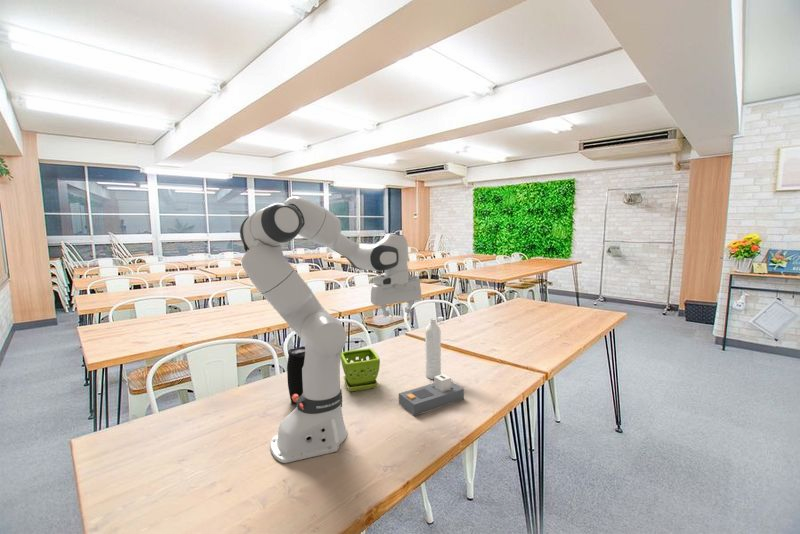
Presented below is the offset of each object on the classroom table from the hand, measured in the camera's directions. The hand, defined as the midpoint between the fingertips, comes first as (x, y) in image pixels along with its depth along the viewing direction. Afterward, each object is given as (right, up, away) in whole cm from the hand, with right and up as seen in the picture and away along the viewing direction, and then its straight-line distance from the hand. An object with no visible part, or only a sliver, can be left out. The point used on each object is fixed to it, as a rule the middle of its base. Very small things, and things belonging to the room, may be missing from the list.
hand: (397, 314), depth 135 cm
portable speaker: (-36, -32, -1) cm, 48 cm away
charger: (+17, -30, -1) cm, 34 cm away
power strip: (+13, -32, -3) cm, 34 cm away
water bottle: (+16, -29, +20) cm, 39 cm away
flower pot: (-15, -31, +12) cm, 36 cm away
